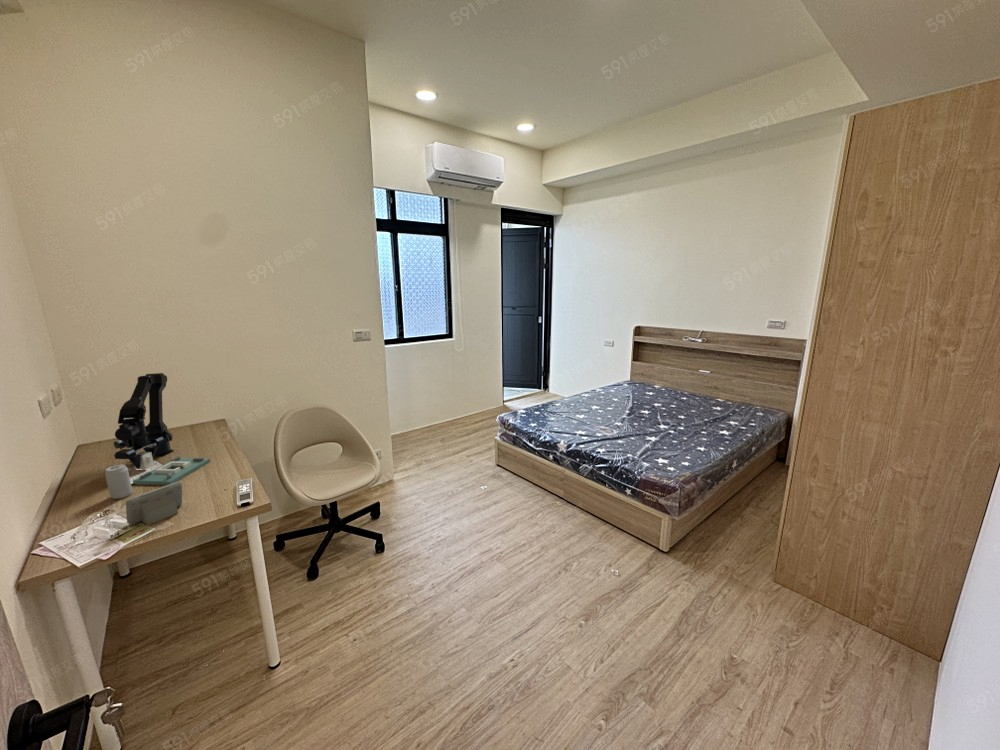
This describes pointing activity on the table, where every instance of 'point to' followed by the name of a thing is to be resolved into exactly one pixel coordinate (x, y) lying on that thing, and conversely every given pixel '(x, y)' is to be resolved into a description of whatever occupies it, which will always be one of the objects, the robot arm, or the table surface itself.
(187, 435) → the table surface
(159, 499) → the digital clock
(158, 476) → the board
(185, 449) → the table surface
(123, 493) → the beverage can
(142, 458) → the plug
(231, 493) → the table surface
